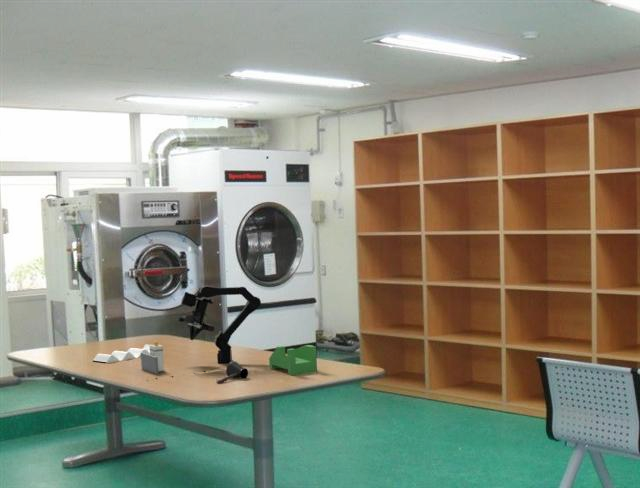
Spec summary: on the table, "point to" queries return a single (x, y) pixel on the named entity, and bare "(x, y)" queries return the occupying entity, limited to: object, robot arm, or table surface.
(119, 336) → the table surface
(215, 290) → the robot arm
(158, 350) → the block
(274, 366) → the green cradle stand
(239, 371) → the coffee pot
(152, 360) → the grey block
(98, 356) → the white zigzag rack
